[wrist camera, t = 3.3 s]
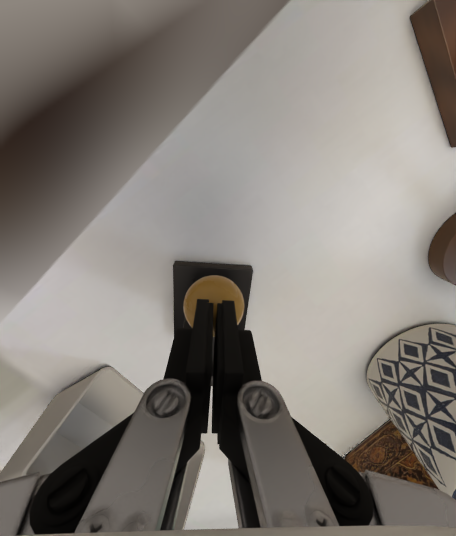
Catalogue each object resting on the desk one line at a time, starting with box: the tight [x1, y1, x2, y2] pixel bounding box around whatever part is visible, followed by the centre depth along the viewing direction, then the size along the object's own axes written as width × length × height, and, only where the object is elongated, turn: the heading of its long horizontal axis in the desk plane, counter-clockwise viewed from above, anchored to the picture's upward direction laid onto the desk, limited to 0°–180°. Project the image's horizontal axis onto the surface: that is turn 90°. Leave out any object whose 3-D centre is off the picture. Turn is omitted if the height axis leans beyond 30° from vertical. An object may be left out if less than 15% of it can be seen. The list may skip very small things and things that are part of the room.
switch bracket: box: [173, 261, 253, 336], centre depth 23 cm, size 11×9×12 cm
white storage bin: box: [0, 367, 205, 530], centre depth 32 cm, size 25×16×12 cm, turn 32°
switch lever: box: [183, 275, 244, 386], centre depth 16 cm, size 13×3×3 cm, turn 175°
